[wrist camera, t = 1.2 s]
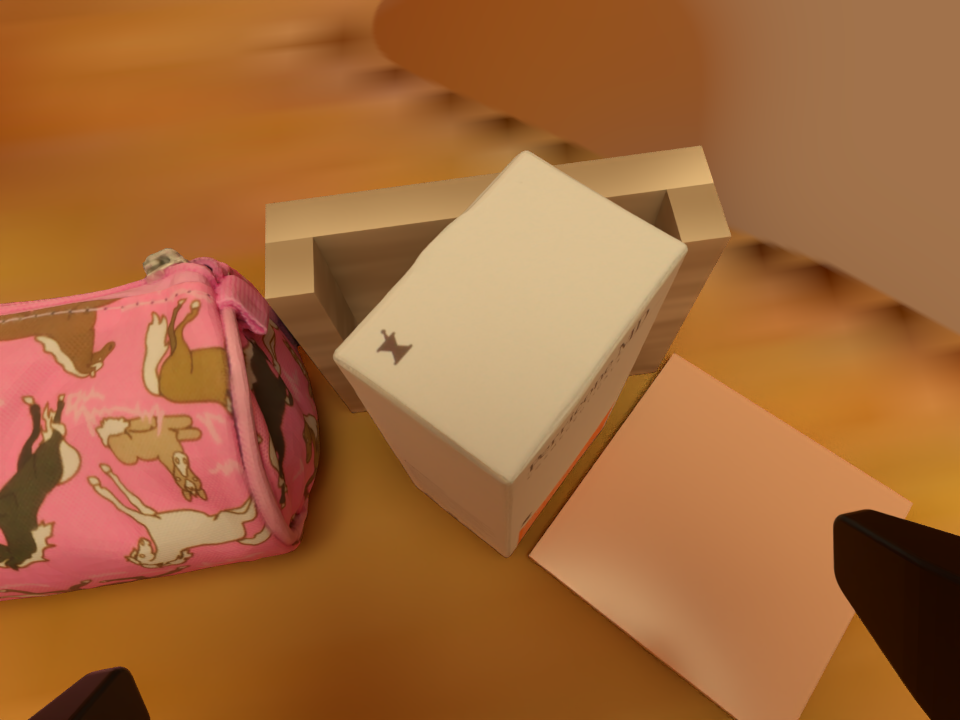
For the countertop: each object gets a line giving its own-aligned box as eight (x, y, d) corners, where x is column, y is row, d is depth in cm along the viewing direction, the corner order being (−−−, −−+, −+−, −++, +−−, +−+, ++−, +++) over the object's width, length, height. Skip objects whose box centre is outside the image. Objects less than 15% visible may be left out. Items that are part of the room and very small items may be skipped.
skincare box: (510, 563, 21) (505, 498, 10) (413, 486, 23) (317, 353, 12) (610, 424, 23) (699, 241, 12) (516, 359, 24) (518, 137, 13)
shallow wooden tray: (655, 371, 24) (731, 236, 15) (352, 412, 24) (265, 298, 15) (638, 305, 25) (701, 145, 17) (348, 344, 25) (265, 204, 17)
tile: (902, 506, 21) (913, 503, 21) (772, 749, 19) (780, 752, 18) (670, 359, 24) (674, 352, 23) (528, 556, 21) (528, 555, 21)
